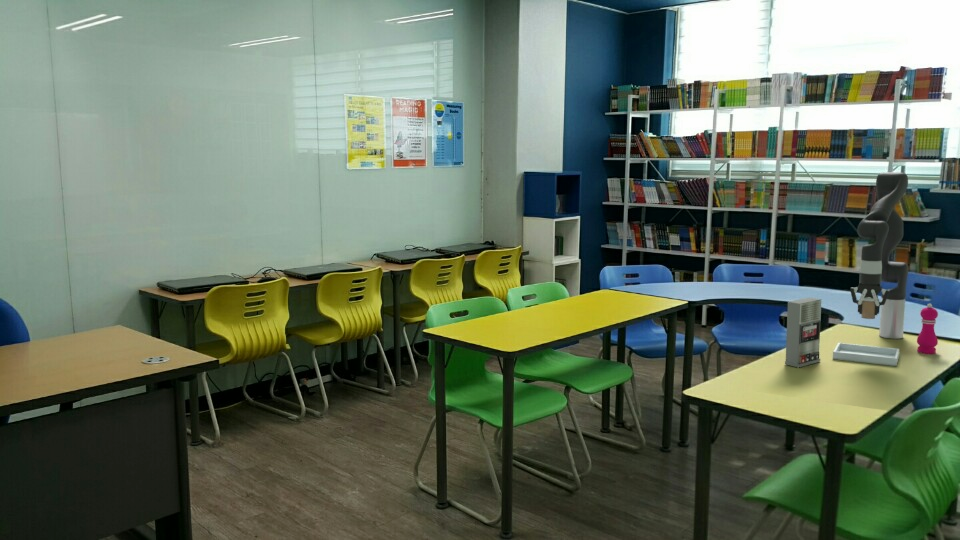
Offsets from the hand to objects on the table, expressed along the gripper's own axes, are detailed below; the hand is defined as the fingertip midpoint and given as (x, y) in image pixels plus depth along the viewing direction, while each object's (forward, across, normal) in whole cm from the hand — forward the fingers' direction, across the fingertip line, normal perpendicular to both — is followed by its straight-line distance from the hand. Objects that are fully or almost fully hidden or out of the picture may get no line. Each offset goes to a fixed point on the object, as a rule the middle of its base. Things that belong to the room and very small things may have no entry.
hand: (868, 314), depth 284 cm
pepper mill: (+18, -20, -20) cm, 34 cm away
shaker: (+1, 0, 0) cm, 1 cm away
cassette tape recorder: (+18, +20, +20) cm, 33 cm away
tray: (+18, 0, 0) cm, 18 cm away
